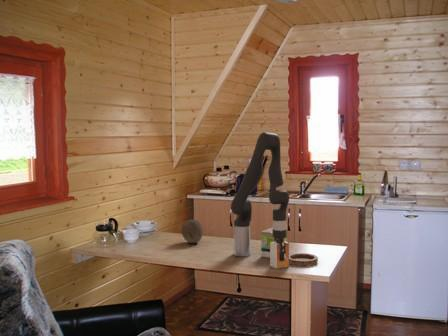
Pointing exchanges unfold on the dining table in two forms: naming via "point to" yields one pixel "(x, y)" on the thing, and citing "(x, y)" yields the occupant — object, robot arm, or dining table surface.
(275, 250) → the small box
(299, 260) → the tray
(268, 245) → the tea box
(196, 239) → the cantaloupe
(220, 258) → the dining table surface
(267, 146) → the robot arm
